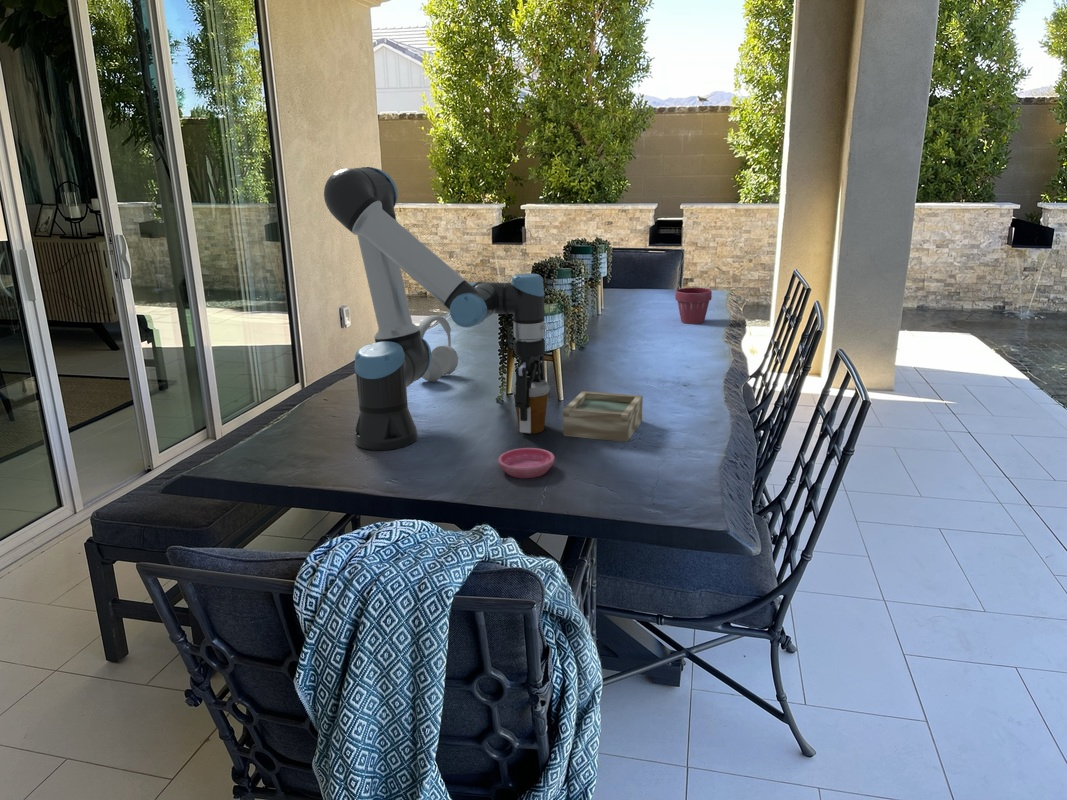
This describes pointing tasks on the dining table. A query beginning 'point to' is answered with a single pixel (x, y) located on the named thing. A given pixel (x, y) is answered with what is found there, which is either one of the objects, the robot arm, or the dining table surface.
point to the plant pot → (693, 304)
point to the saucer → (526, 462)
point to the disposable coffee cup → (536, 404)
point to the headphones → (439, 352)
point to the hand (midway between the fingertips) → (531, 426)
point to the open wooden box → (603, 416)
